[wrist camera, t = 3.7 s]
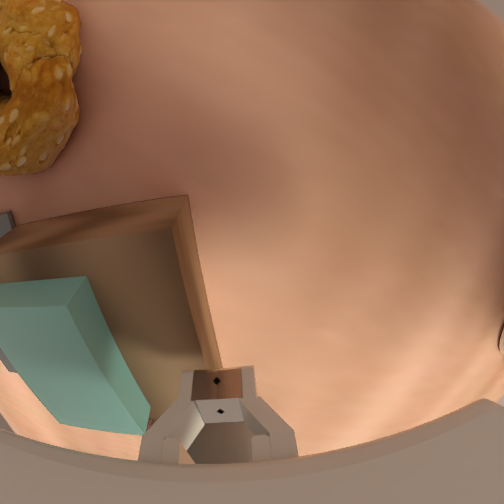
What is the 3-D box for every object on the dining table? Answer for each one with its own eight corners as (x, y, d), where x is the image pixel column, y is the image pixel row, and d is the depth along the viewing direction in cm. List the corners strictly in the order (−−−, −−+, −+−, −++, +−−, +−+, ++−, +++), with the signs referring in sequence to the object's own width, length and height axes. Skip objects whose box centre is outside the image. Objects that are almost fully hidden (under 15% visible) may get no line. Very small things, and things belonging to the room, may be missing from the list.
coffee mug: (250, 383, 20) (260, 514, 11) (278, 438, 25) (290, 530, 16) (101, 401, 21) (75, 500, 12) (155, 450, 26) (147, 530, 17)
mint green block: (86, 275, 11) (66, 305, 9) (150, 406, 15) (145, 435, 13) (-3, 283, 11) (-24, 307, 9) (68, 399, 15) (59, 423, 13)
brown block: (187, 194, 14) (171, 229, 10) (223, 370, 19) (223, 419, 16) (15, 226, 13) (-25, 259, 10) (83, 370, 19) (68, 410, 15)
